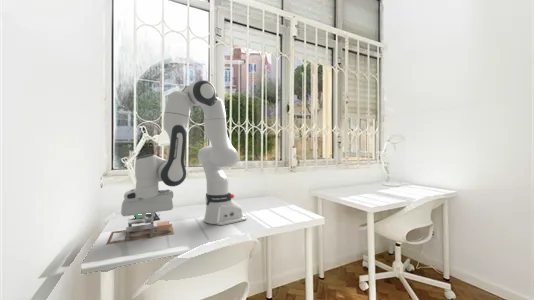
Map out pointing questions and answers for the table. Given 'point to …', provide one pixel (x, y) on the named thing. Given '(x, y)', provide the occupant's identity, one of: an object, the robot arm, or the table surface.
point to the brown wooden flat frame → (140, 232)
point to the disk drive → (147, 217)
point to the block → (163, 226)
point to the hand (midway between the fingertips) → (149, 222)
